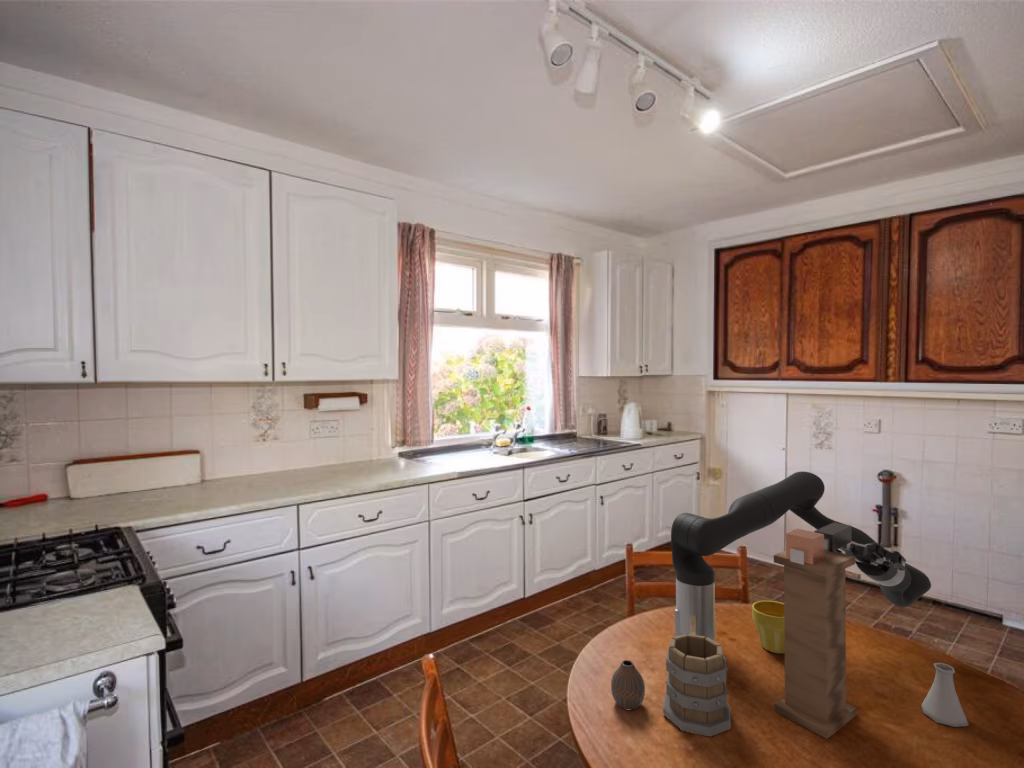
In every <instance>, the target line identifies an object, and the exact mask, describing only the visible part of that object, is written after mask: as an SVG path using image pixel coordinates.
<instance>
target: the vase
mask: <svg viewBox="0 0 1024 768" xmlns="http://www.w3.org/2000/svg"><path fill="white" fill-rule="evenodd" d="M610 684H611V685H610V686H611V687H610V688H611V689H610V690H611V695H612V698H613V700H614V702H615V703H616V705H618V706H619V707H620V708H621V707H622V708H621V709H623V708H625V709H624V710H626V709H634V710H637V708H640V706H641V705H642V703H643V701H644V698H645V693H646V686H645V682H644V679H643V676H642V674H641V673H640V671H639V670H638V669H637V667H636V665H635V664H634V662H633V661H631V660H628V659H624V660H622V661H621V663H620V665H619V667H618V668H617V669H616V670H615V671H614V673H613V675H612V677H611V682H610Z"/></svg>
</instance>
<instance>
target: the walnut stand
mask: <svg viewBox="0 0 1024 768" xmlns="http://www.w3.org/2000/svg"><path fill="white" fill-rule="evenodd" d="M773 563H774V564H778V565H781V566H783V590H784V591H783V592H784V593H783V596H784V597H783V599H784V601H783V603H784V627H785V653H784V695H785V696H784V698H782V699H781V700H779V701H778V702H777V703H775V704H774V712H775V713H777V714H779V715H780V716H781V717H784V718H786V719H788V720H790V721H792V722H794V723H796V724H798V725H799V726H802V727H803V728H805V729H806V730H809V731H810V732H813V733H815V734H816V735H818V736H820V737H822V738H824V739H826V740H828V739H829V738H830V737H832V736H833V735H834V734H836V733H837V732H838V731H839V730H840V729H842V727H844V726H845V725H847V723H849V722H850V721H851V720H852V719H854V718H855V717H856V716H857V707H855V706H854V705H851V704H850V703H847V648H846V647H847V644H846V643H847V639H846V637H847V636H846V635H847V633H846V631H847V630H846V629H847V628H846V627H847V625H846V621H847V620H846V619H847V618H846V615H847V613H846V612H847V611H846V608H847V607H846V606H847V605H846V602H847V601H846V569H848V568H850V567H852V566H854V565H856V562H855V556H851V555H847V554H843V553H839V552H835V551H833V552H831V551H829V552H828V553H826V554H824V560H822V561H820V562H818V563H817V564H815V565H810V564H805V565H803V564H799V563H795V562H791V561H790V559H786V550H783V551H782V552H778V553H775V554H773Z"/></svg>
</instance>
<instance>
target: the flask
mask: <svg viewBox="0 0 1024 768" xmlns="http://www.w3.org/2000/svg"><path fill="white" fill-rule="evenodd" d="M933 666H934V668H935V676H934V680H933V683H932V684H931V687H930V688H929V691H928V693H927V694H926V697H924V700H923V702H922V703H921V704H920V705H921V709H922V712H923V714H925V715H926V716H927V717H928V718H930V719H931V720H933V721H934V722H936V723H938V724H941V725H946V726H950V727H954V728H960V727H970V724H969V722H968V719H967V717H966V714H965V711H964V710H963V707H962V705H961V702H960V700H959V696H958V695H957V694H958V693H957V692H956V688H955V682H954V674H955V673H956V671H955V670H956V669H955V668H954V667H953V666H952V665H950V664H948V663H947V664H946V663H943V662H934V663H933Z"/></svg>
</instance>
